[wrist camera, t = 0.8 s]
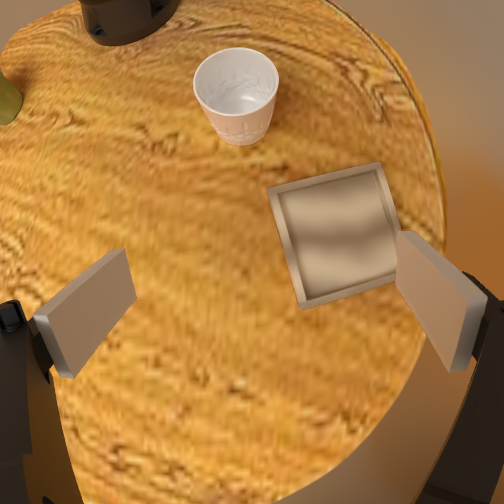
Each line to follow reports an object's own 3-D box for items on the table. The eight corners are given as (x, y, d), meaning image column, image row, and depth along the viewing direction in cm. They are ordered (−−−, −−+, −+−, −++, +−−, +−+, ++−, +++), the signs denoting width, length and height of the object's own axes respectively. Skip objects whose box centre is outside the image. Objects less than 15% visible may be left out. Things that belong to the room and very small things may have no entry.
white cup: (211, 93, 37) (197, 48, 27) (275, 94, 36) (279, 47, 26) (206, 151, 37) (188, 116, 27) (274, 152, 36) (278, 116, 26)
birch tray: (267, 193, 36) (267, 188, 34) (373, 167, 36) (380, 161, 33) (298, 307, 36) (301, 310, 33) (403, 274, 36) (412, 275, 33)
